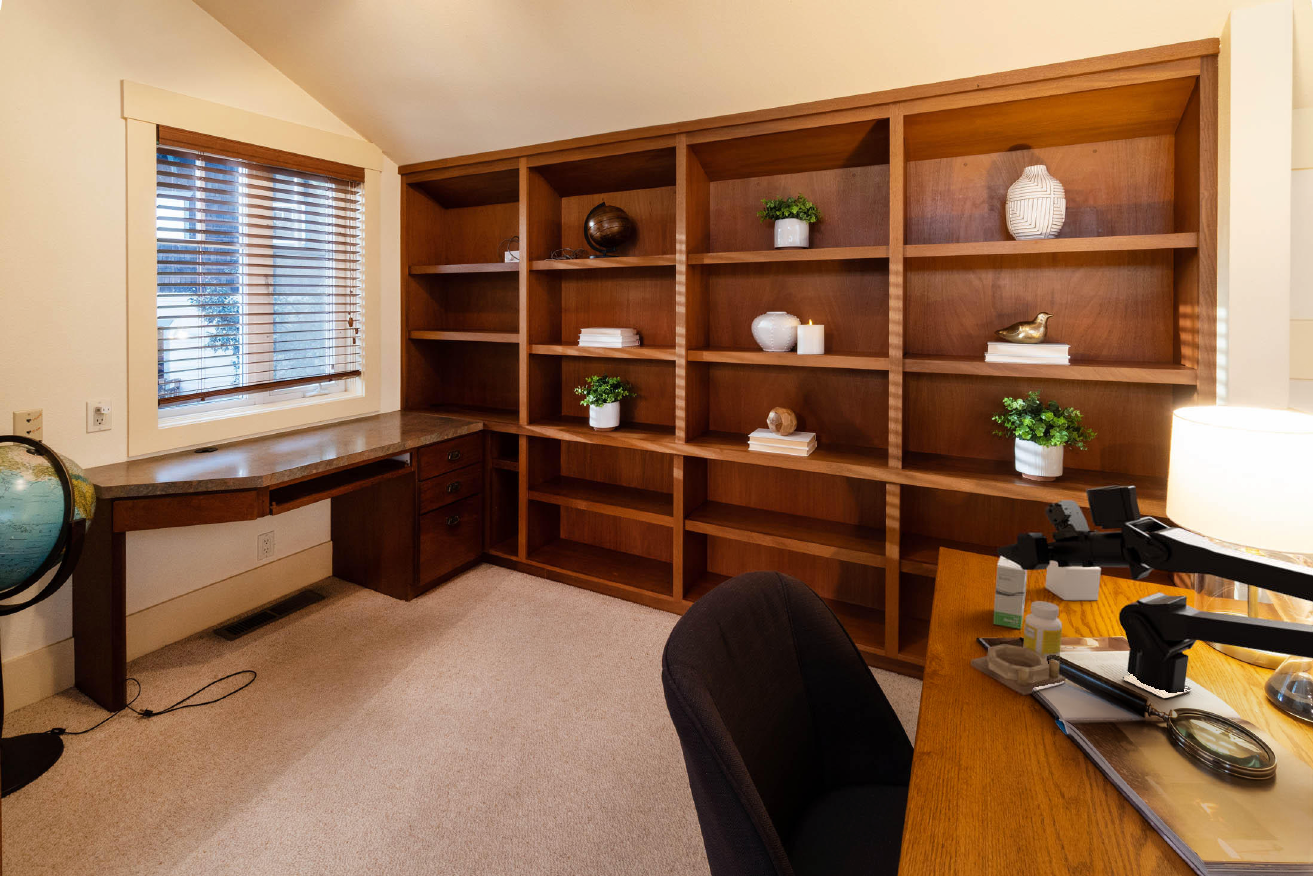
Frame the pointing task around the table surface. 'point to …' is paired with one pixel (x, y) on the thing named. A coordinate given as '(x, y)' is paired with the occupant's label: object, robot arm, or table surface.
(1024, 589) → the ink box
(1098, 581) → the medicine bottle
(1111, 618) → the table surface
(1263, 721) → the table surface
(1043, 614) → the supplement bottle
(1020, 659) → the beige octagonal holder
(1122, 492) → the robot arm
